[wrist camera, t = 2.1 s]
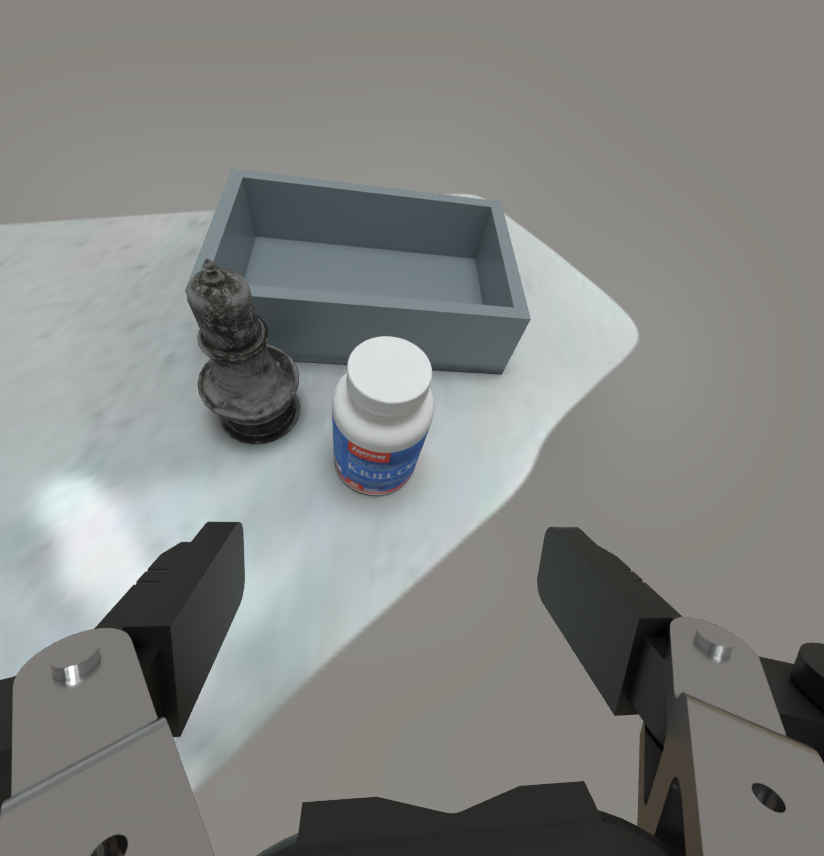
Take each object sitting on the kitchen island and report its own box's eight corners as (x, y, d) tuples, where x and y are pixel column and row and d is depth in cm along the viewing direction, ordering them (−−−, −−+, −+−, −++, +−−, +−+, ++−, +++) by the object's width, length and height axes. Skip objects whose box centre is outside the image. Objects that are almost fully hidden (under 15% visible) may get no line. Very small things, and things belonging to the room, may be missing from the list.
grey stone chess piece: (204, 444, 25) (105, 297, 15) (227, 372, 28) (158, 210, 18) (297, 451, 26) (262, 315, 16) (310, 380, 29) (288, 227, 19)
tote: (214, 356, 29) (184, 290, 24) (248, 238, 36) (231, 168, 31) (501, 374, 32) (530, 319, 27) (480, 262, 39) (500, 201, 34)
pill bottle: (340, 504, 25) (334, 423, 16) (330, 430, 27) (321, 328, 19) (424, 490, 26) (459, 409, 18) (407, 421, 28) (430, 321, 20)
